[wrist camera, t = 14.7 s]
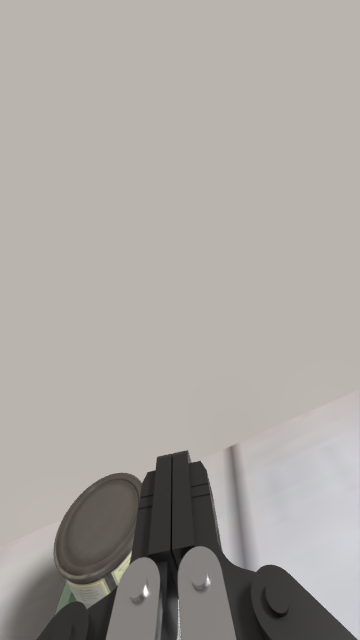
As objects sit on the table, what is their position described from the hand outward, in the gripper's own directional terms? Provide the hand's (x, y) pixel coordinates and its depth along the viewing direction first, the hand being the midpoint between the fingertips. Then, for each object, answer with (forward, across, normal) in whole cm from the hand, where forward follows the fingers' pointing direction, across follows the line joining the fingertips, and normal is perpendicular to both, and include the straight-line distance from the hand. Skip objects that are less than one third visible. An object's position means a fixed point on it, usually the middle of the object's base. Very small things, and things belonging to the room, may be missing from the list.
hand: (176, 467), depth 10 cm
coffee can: (+10, +12, +30) cm, 34 cm away
